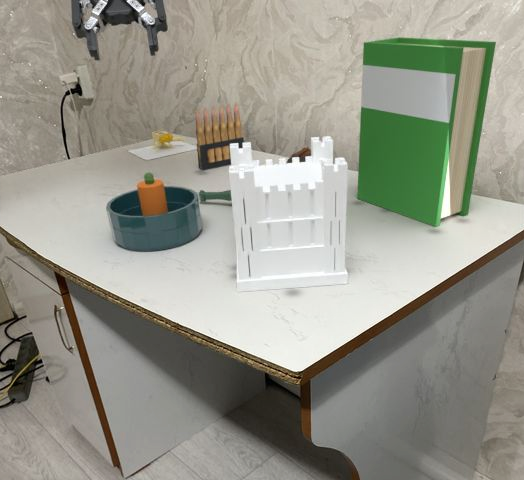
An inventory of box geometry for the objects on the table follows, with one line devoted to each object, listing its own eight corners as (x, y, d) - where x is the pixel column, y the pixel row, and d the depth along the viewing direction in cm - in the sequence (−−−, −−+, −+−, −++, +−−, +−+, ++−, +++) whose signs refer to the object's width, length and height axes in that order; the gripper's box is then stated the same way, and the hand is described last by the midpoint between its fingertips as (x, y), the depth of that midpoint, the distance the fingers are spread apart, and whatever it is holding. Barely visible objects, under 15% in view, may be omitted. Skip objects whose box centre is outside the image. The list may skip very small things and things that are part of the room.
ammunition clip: (242, 159, 120) (237, 101, 113) (246, 161, 119) (241, 102, 112) (198, 168, 116) (191, 108, 109) (201, 170, 115) (194, 110, 108)
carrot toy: (145, 236, 84) (134, 177, 79) (146, 227, 88) (135, 170, 82) (171, 233, 85) (161, 174, 80) (170, 224, 88) (161, 167, 83)
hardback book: (467, 214, 85) (496, 41, 72) (435, 226, 82) (458, 48, 68) (387, 188, 98) (399, 37, 84) (357, 198, 94) (363, 42, 81)
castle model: (237, 247, 80) (227, 143, 72) (331, 240, 80) (332, 135, 72) (237, 292, 69) (225, 174, 60) (347, 283, 69) (351, 164, 60)
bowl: (110, 257, 80) (102, 222, 77) (117, 223, 92) (109, 191, 89) (205, 245, 81) (200, 210, 78) (199, 213, 93) (195, 182, 90)
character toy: (155, 137, 126) (142, 132, 131) (158, 151, 128) (144, 146, 133) (186, 131, 129) (171, 126, 135) (188, 145, 131) (173, 140, 137)
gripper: (60, -54, 81) (70, 39, 78) (155, -60, 82) (168, 31, 79) (74, -12, 88) (83, 75, 85) (161, -18, 89) (173, 67, 86)
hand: (124, 54), depth 82 cm, fingers open, 8 cm apart
